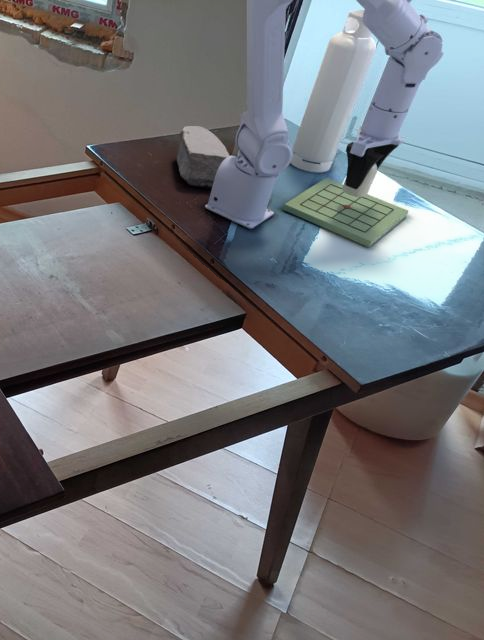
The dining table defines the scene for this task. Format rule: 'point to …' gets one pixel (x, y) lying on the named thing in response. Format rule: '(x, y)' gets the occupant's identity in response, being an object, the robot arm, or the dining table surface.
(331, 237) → the dining table surface
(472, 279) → the dining table surface
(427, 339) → the dining table surface
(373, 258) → the dining table surface
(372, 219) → the game board
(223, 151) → the decorative stone
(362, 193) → the cream rounded cylinder
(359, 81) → the bottle
